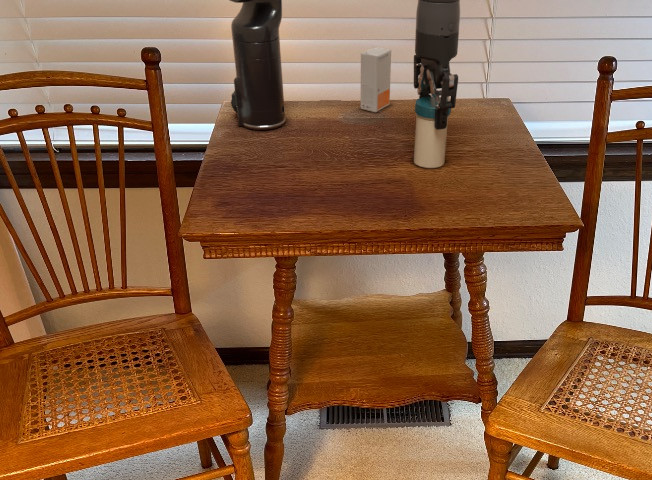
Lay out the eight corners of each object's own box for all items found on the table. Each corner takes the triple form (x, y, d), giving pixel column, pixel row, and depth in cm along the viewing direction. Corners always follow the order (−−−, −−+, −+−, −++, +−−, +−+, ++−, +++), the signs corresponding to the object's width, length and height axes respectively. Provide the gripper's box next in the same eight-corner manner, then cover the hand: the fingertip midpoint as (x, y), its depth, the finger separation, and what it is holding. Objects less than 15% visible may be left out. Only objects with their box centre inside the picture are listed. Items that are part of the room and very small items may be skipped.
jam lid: (456, 116, 138) (457, 106, 137) (423, 120, 136) (424, 110, 135) (441, 105, 143) (441, 94, 141) (409, 108, 140) (409, 98, 139)
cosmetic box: (376, 113, 164) (376, 56, 157) (360, 109, 166) (359, 52, 158) (390, 105, 168) (392, 49, 161) (374, 101, 170) (375, 45, 162)
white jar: (412, 166, 143) (415, 111, 136) (414, 154, 148) (417, 100, 141) (443, 169, 143) (448, 113, 136) (445, 156, 147) (449, 102, 141)
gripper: (401, 18, 134) (398, 111, 144) (435, 40, 123) (430, 138, 134) (439, 14, 136) (434, 106, 147) (476, 35, 126) (467, 133, 136)
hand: (432, 121), depth 140 cm, fingers closed on jam lid, 6 cm apart
